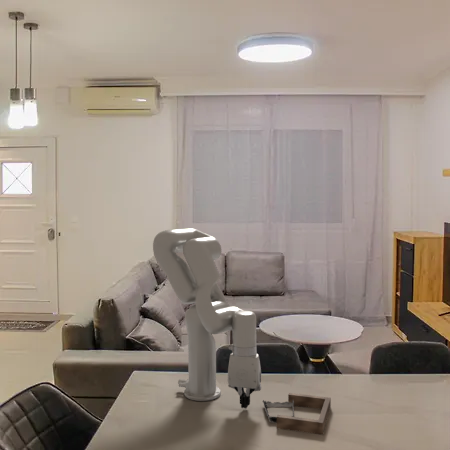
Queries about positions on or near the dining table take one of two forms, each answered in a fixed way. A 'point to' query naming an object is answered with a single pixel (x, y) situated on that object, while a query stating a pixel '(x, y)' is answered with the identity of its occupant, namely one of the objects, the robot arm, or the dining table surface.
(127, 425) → the dining table surface
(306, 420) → the frame
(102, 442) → the dining table surface
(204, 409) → the dining table surface
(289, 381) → the dining table surface
